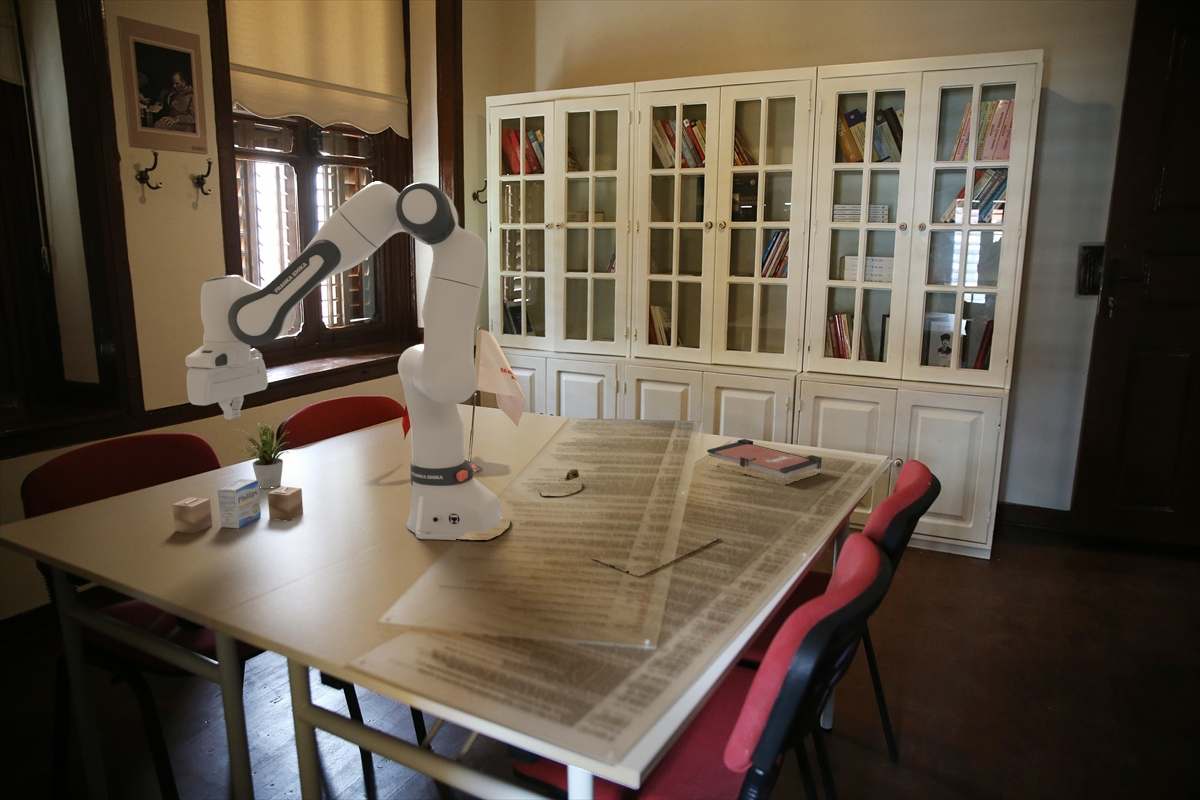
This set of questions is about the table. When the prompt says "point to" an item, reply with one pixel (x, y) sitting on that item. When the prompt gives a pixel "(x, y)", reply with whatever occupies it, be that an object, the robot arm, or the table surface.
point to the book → (765, 459)
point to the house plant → (266, 458)
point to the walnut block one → (192, 515)
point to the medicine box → (239, 503)
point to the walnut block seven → (285, 503)
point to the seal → (571, 475)
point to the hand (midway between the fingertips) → (232, 418)
